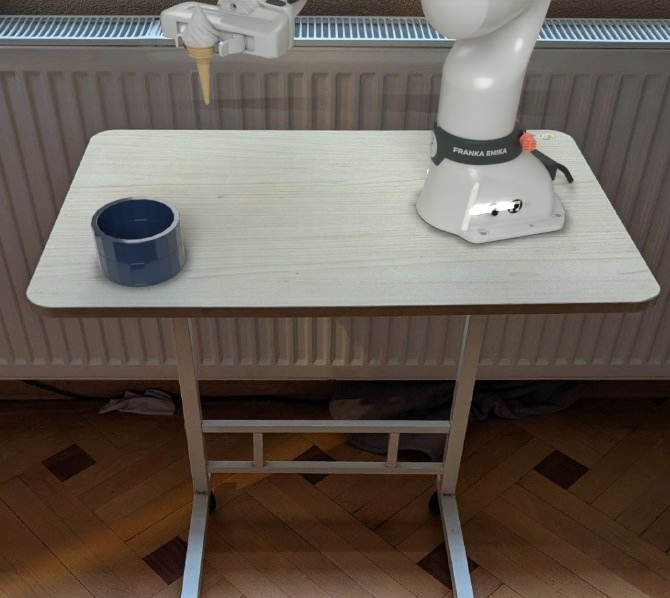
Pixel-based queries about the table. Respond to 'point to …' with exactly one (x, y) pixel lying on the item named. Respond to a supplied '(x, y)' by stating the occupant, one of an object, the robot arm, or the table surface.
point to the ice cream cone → (201, 46)
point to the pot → (138, 241)
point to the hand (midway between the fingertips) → (198, 47)
